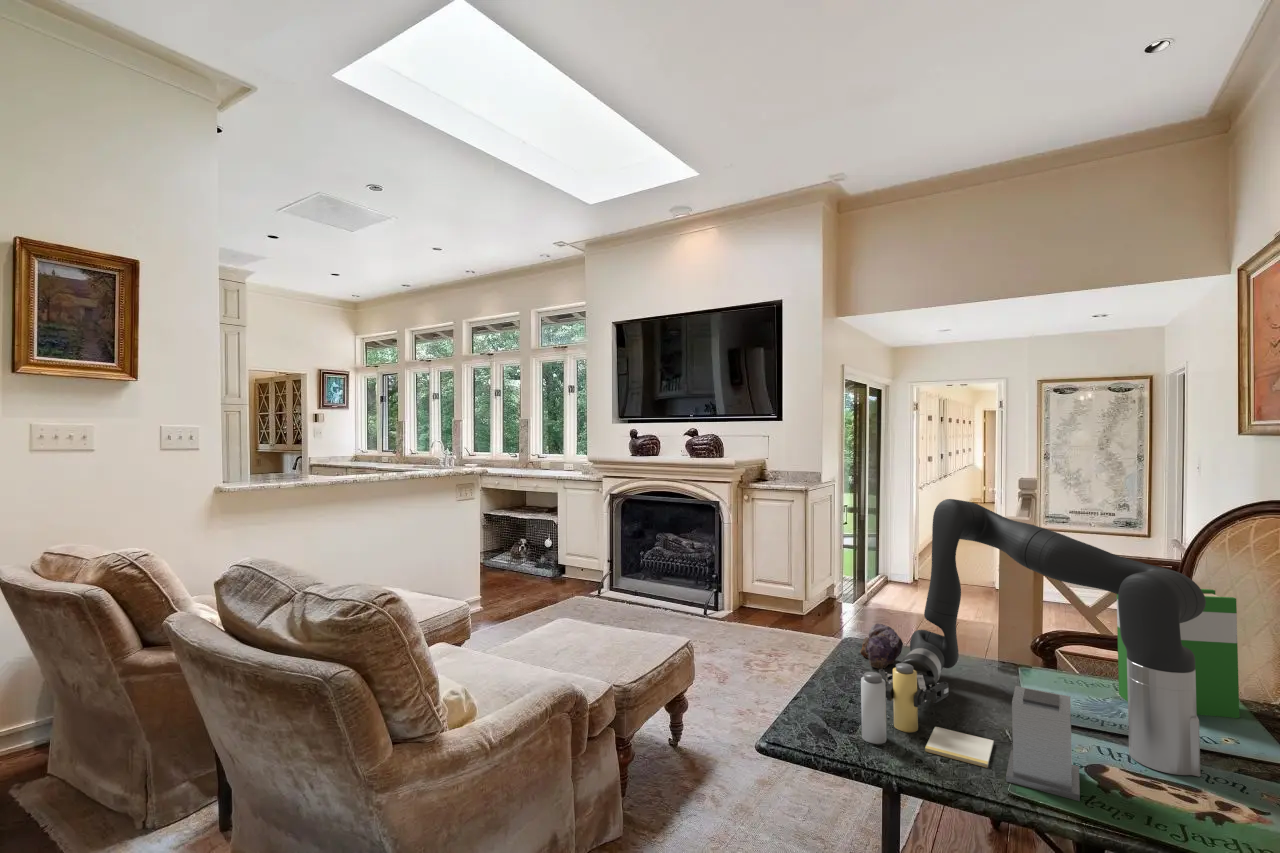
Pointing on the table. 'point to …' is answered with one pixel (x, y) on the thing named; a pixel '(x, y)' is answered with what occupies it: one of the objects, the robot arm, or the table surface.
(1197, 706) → the green box
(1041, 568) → the robot arm
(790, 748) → the table surface
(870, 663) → the rock
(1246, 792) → the table surface
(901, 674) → the cylinder
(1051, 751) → the unit
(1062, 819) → the table surface
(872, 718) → the cylinder
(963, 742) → the pad
